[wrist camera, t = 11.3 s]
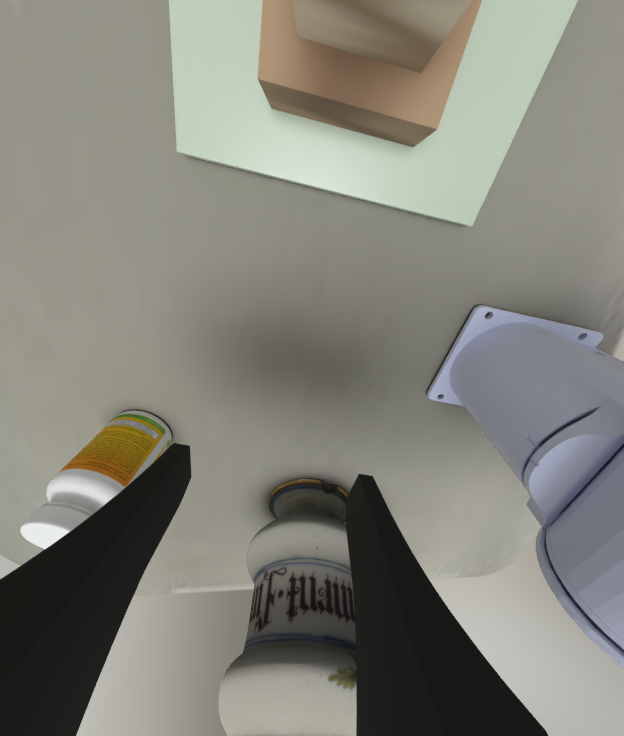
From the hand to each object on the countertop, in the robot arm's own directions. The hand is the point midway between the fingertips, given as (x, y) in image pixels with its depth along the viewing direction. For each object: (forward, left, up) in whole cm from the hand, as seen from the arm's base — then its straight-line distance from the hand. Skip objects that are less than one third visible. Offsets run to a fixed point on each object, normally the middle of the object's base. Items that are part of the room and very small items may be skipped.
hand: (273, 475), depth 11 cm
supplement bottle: (+13, +11, -11) cm, 20 cm away
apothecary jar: (-5, +19, -11) cm, 22 cm away
